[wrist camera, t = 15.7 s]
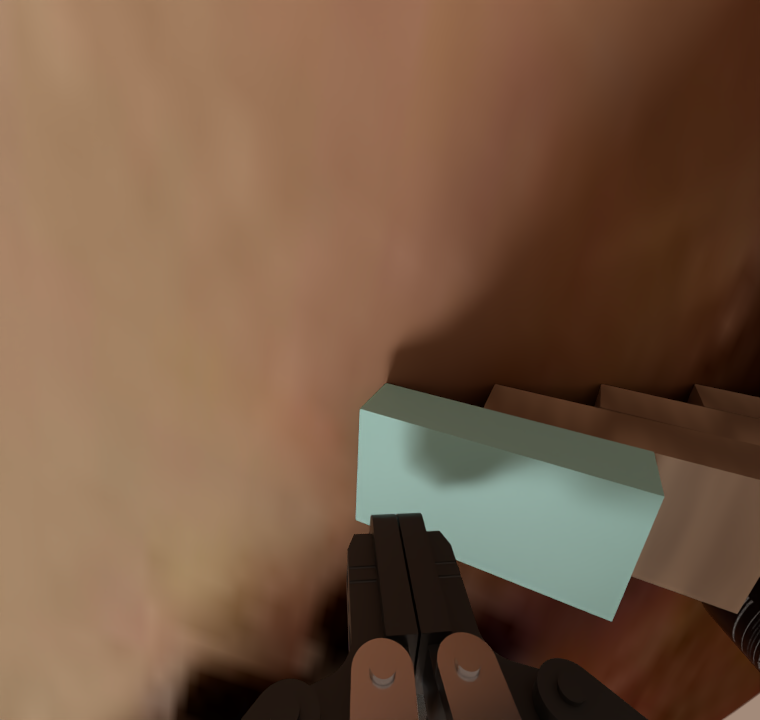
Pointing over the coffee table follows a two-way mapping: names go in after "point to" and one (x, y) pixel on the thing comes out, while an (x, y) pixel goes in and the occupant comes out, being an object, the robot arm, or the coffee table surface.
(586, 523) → the domino
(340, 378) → the coffee table surface
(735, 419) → the domino
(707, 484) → the domino
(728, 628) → the supplement bottle
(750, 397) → the domino
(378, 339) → the coffee table surface
